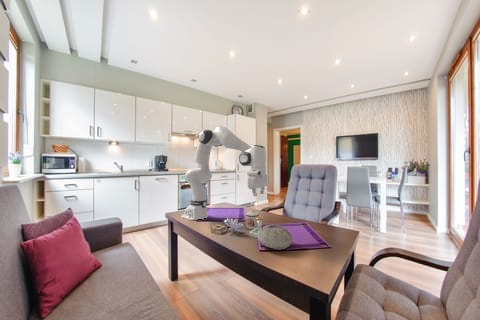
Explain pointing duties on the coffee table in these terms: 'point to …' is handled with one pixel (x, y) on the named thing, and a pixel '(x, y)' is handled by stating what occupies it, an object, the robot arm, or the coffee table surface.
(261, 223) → the lock pin
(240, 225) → the water lily
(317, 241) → the coffee table surface
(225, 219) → the pulley
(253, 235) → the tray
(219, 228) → the tensioner block
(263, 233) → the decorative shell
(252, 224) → the teacup with lid
